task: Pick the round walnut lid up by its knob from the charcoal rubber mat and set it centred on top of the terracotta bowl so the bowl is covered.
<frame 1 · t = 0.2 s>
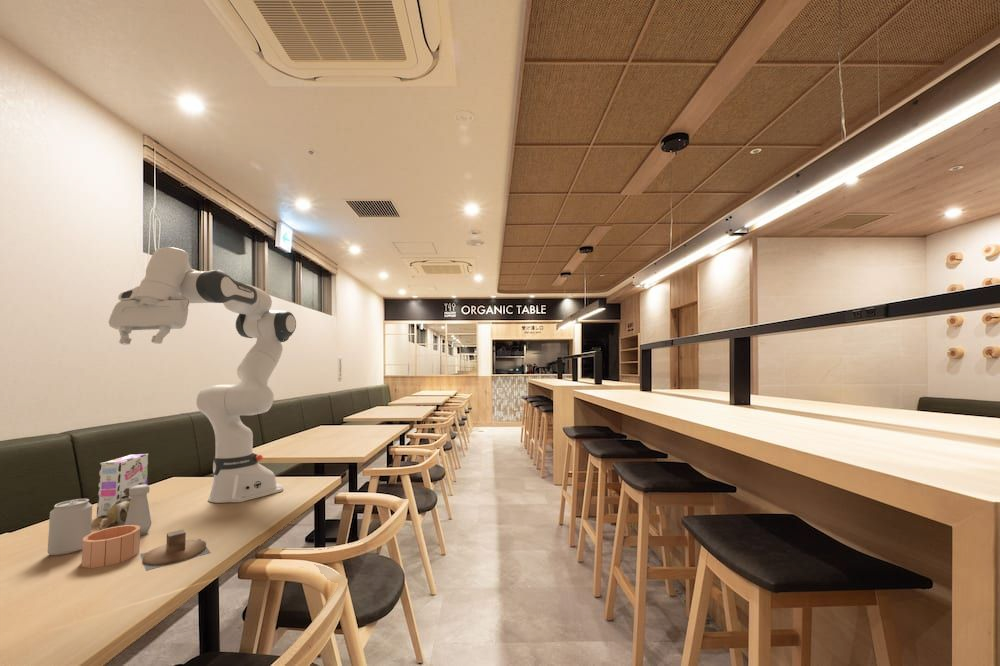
hand: (140, 343, 114), 52 cm above the table, fingers open, 8 cm apart
bowl: (111, 558, 100), on the table
ceramic sculpture: (123, 526, 122), on the table
mat: (175, 555, 102), on the table
lid: (175, 553, 102), resting on mat
salt shaker: (137, 535, 115), on the table
can: (69, 552, 105), on the table
candy box: (122, 510, 136), on the table
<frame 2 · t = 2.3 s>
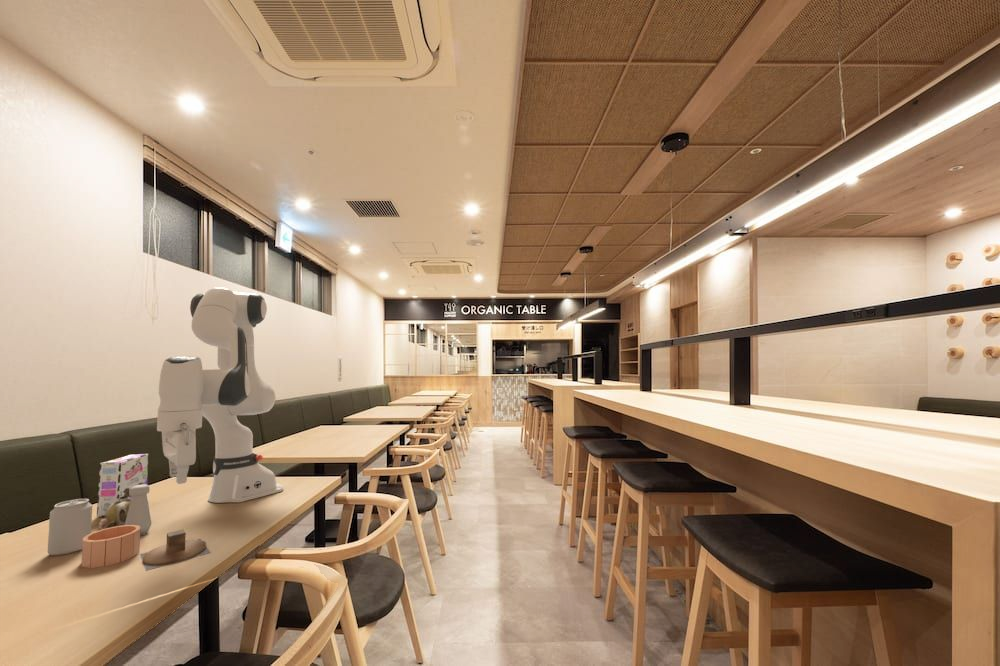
hand: (177, 479, 103), 18 cm above the table, fingers open, 8 cm apart
nothing on the table moved.
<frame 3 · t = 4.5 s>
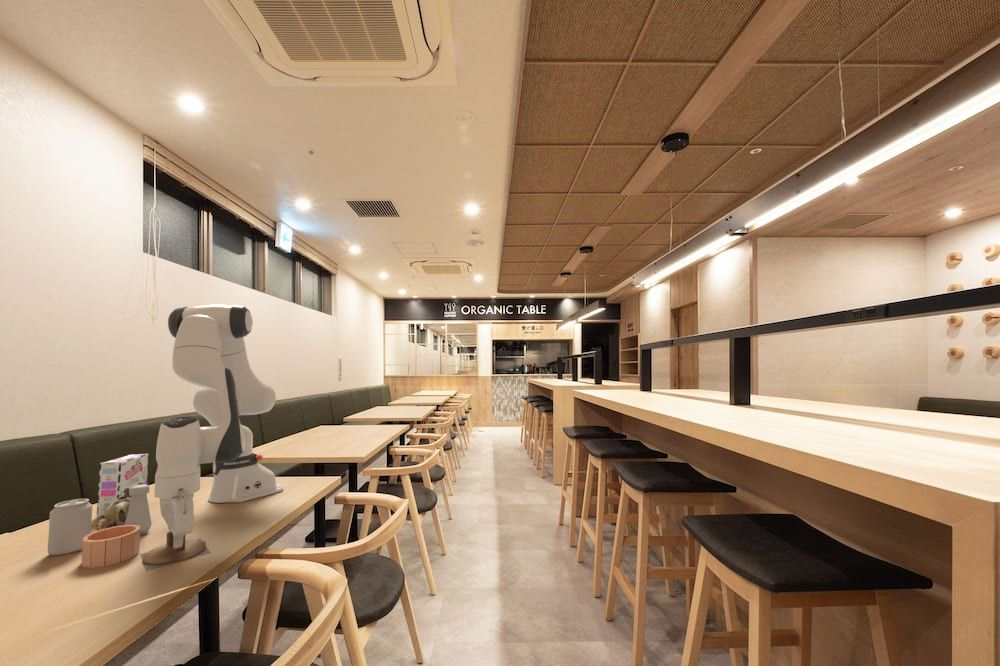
hand: (175, 544, 102), 2 cm above the table, fingers closed on lid, 3 cm apart
lid: (175, 553, 102), resting on mat, touching gripper
everything else where it was.
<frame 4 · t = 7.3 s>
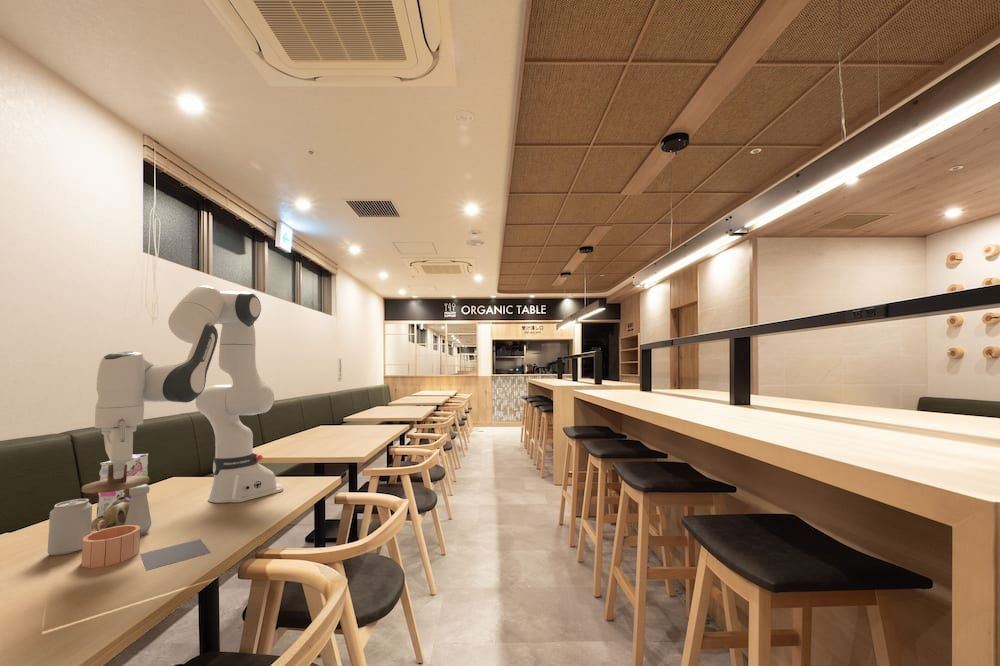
hand: (117, 476, 102), 19 cm above the table, fingers closed on lid, 3 cm apart
lid: (116, 485, 102), point 17 cm above the table, touching gripper
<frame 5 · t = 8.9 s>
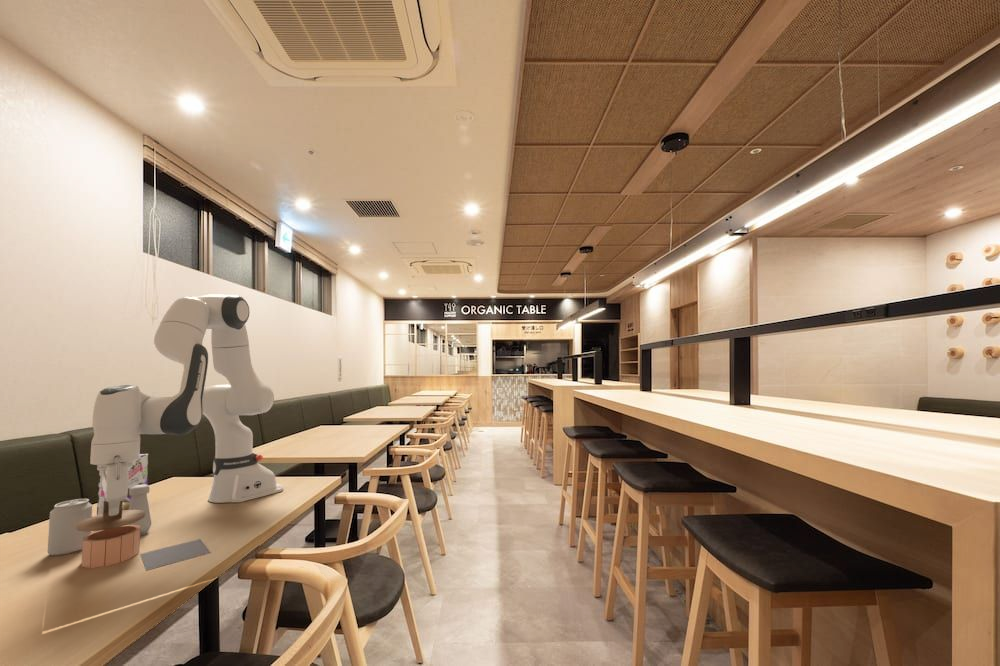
hand: (112, 512, 101), 11 cm above the table, fingers closed on lid, 3 cm apart
lid: (112, 521, 101), point 9 cm above the table, touching gripper
when the fingers open (9 cm above the table, at t = 9.9 s): lid stays where it is, resting on bowl.
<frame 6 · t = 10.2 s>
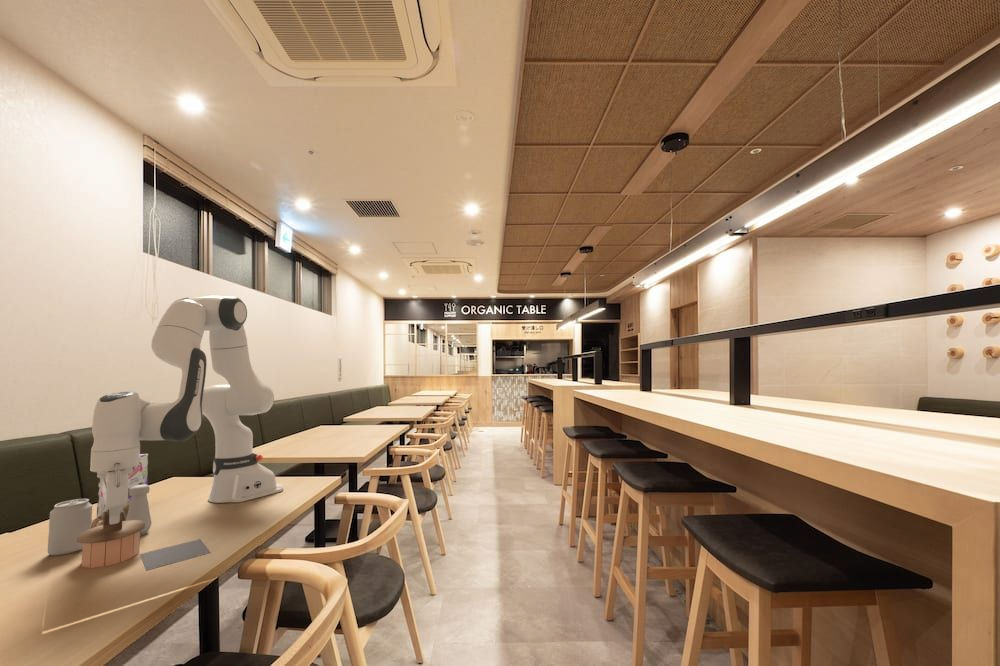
hand: (113, 519, 101), 9 cm above the table, fingers open, 6 cm apart
lid: (112, 532, 101), point 6 cm above the table, touching bowl
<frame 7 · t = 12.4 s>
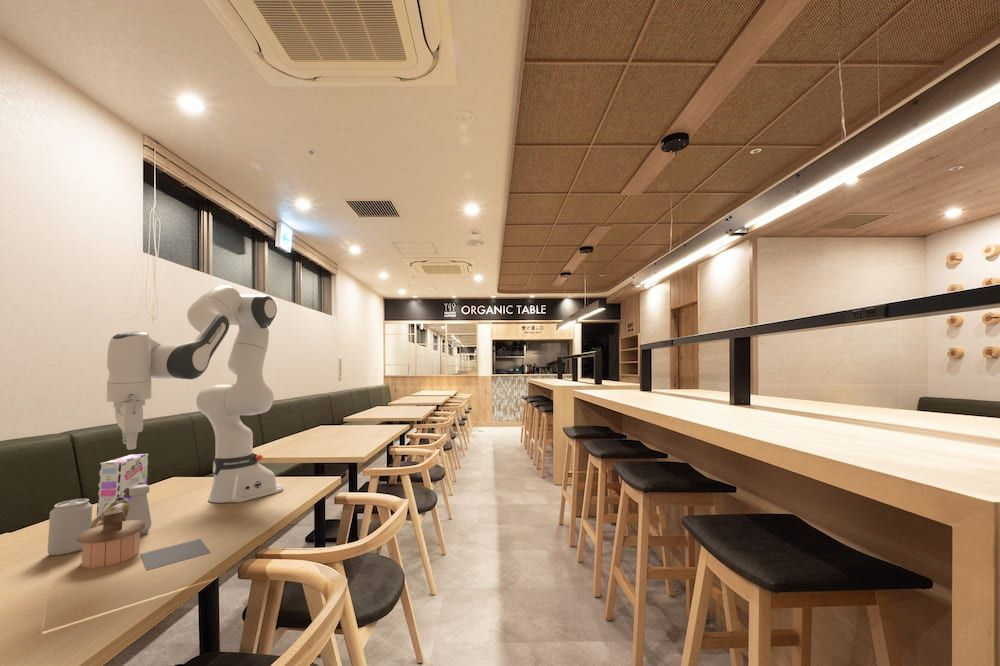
hand: (129, 446, 111), 25 cm above the table, fingers open, 8 cm apart
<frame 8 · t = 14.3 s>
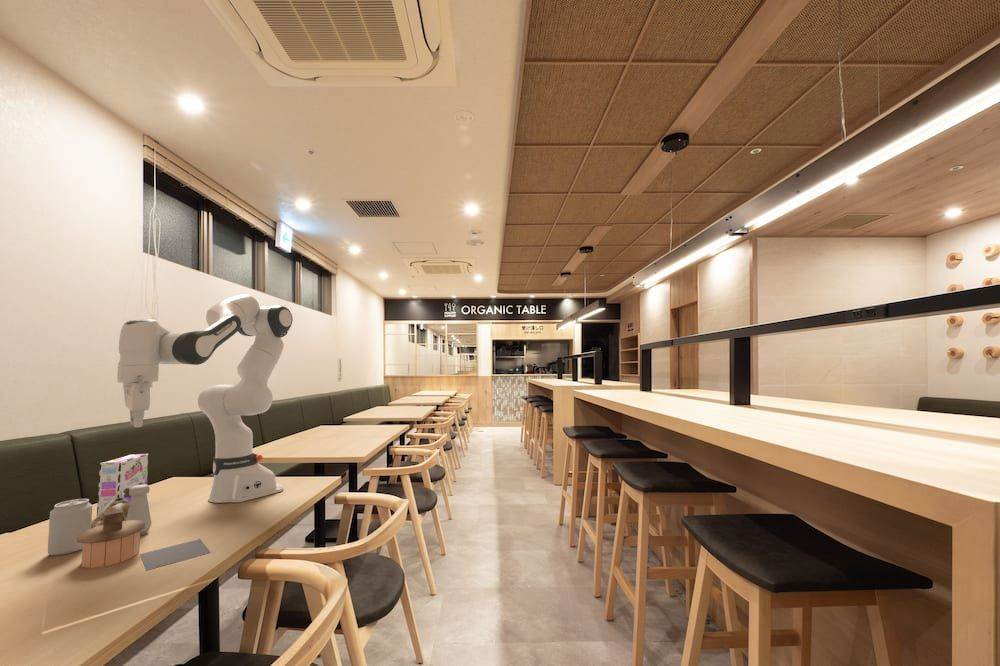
hand: (136, 425, 119), 29 cm above the table, fingers open, 8 cm apart
at the end: lid 0.0 cm off-centre on the bowl, point 6.0 cm above the bowl's base; lid tilted 0°; the gripper is holding nothing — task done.
